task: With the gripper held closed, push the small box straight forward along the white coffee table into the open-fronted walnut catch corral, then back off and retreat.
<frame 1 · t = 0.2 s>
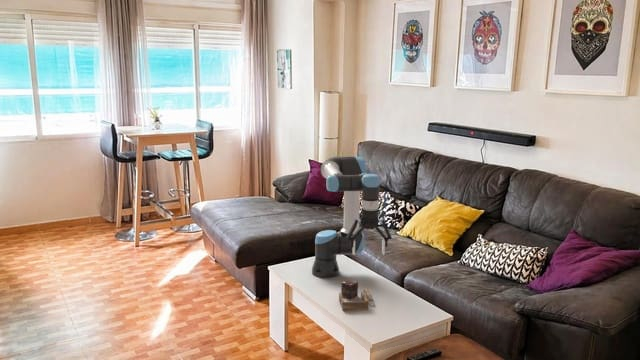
hand: (368, 253, 235), 28 cm above the table, fingers open, 13 cm apart
scraper: (369, 298, 253), on the table
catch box: (353, 304, 246), on the table
box: (349, 296, 256), on the table
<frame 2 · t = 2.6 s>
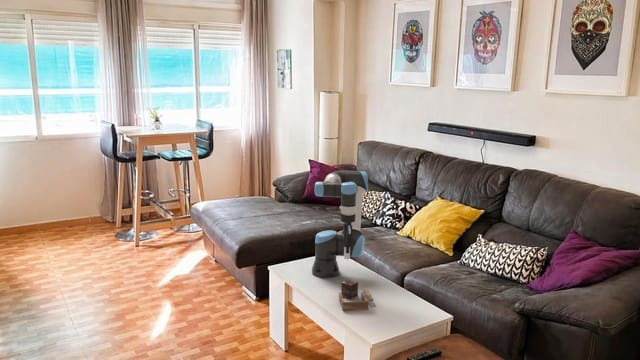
hand: (346, 258, 262), 16 cm above the table, fingers closed
nothing on the table moved.
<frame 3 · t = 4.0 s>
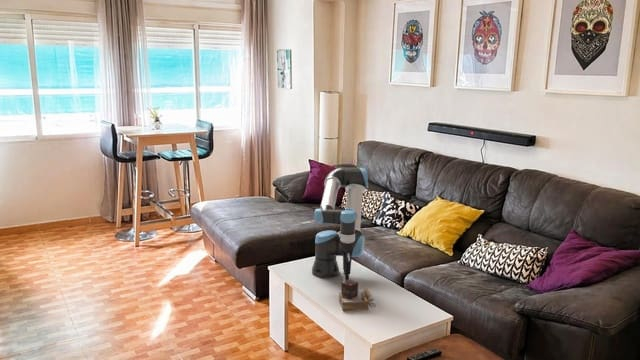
hand: (346, 285, 265), 2 cm above the table, fingers closed
nothing on the table moved.
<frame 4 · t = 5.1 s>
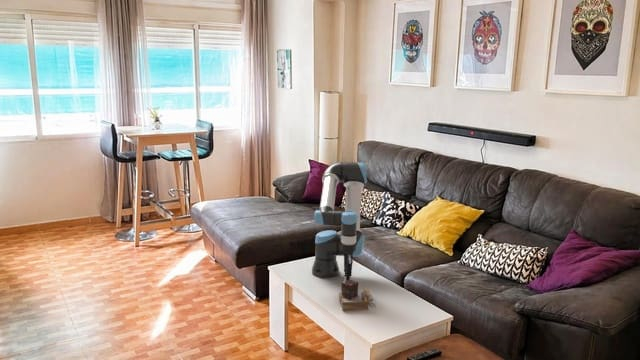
hand: (347, 287, 262), 2 cm above the table, fingers closed
box: (349, 296, 256), on the table, touching gripper
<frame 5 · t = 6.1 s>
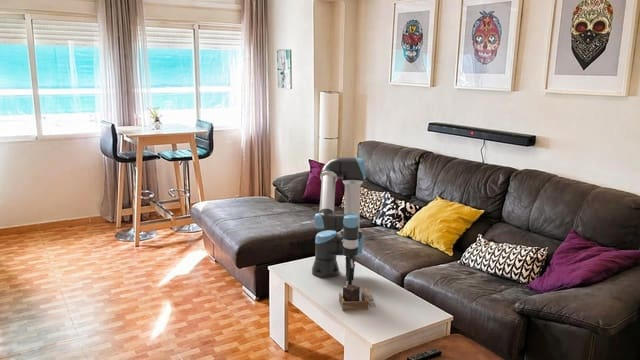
hand: (349, 292, 256), 2 cm above the table, fingers closed
box: (351, 301, 250), on the table, touching gripper
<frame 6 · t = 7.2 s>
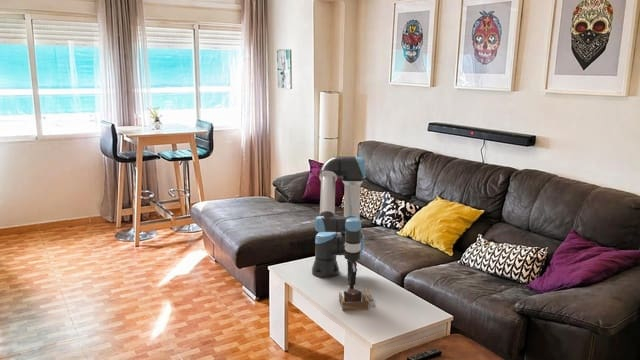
hand: (351, 296, 251), 2 cm above the table, fingers closed
box: (352, 306, 245), on the table, touching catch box, gripper
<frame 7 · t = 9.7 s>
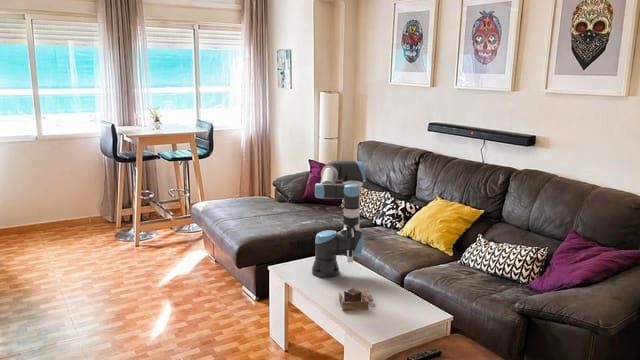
hand: (349, 261, 255), 17 cm above the table, fingers closed
box: (352, 306, 245), on the table
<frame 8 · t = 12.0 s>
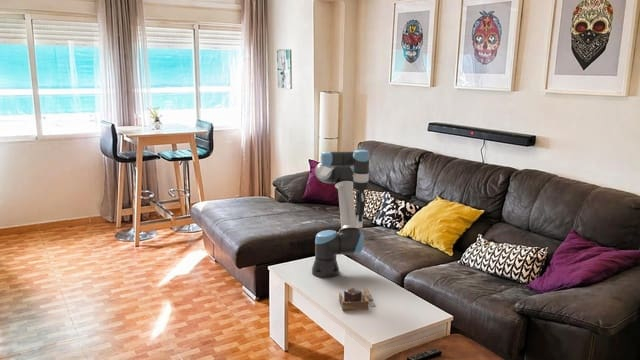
hand: (359, 227, 260), 32 cm above the table, fingers closed
nothing on the table moved.
at the end: box inside the target area on the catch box (0.8 cm from its centre), point 0.0 cm above the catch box's base; box moved 11.0 cm from its start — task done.
